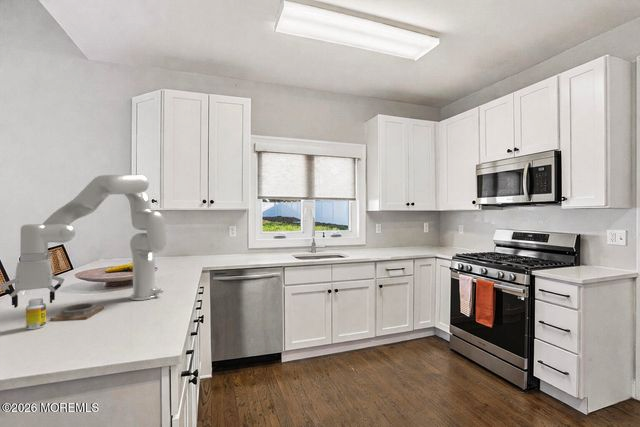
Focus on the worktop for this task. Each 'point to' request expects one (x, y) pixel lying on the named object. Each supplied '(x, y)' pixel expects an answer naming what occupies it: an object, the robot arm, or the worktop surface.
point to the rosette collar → (77, 312)
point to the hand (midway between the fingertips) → (33, 304)
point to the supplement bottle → (36, 314)
